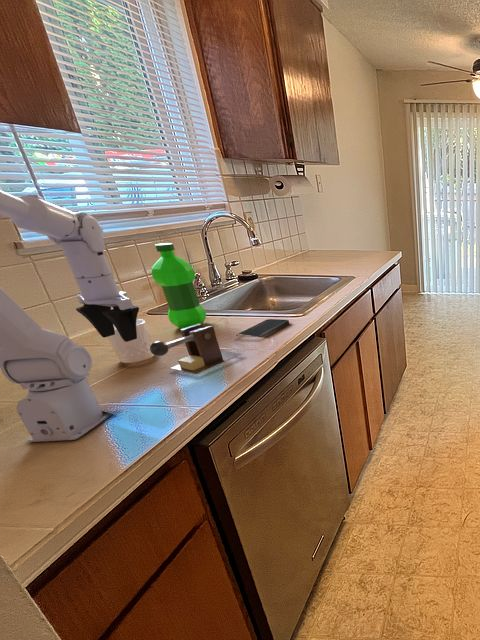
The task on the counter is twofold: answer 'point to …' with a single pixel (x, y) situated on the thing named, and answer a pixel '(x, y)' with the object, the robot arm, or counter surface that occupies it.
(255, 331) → the phone
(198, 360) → the butter
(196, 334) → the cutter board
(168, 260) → the plastic bottle
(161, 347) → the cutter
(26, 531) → the counter surface
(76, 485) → the counter surface
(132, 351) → the white cup
